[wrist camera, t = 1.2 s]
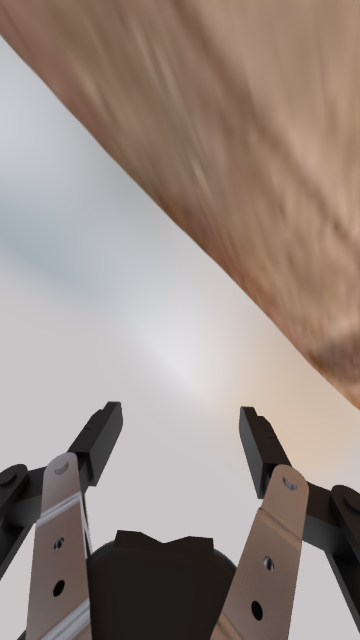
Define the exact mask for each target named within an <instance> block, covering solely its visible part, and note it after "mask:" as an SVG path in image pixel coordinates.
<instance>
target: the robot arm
mask: <svg viewBox="0 0 360 640" xmlns="http://www.w3.org/2000/svg"><path fill="white" fill-rule="evenodd" d="M122 425H123V416H122V408H121V403H120V402H110V401H109V402H108V403H107V404H106V406H105V407H104V409H103V410H101V409H100V410H98V411H97V412H96V413H95V414H93V415H92V416H91V418H90V419H89V421H88V422H87V424H86V425H85V426H84V428H83V430H82V431H81V432H80V434H79V435H78V437H77V438H76V439H75V441H74V442H73V444H72V445H71V446H70V448H69V450H68V451H67V452H66V453H64V454H61V455H59V456H57V457H56V458H55V459H53V460H52V461H51V462H50V463H49V464H48V466H46V467H42V468H38V469H35V470H31V471H28V470H27V467H26V465H24V464H17V465H14V466H11V467H9V468H7V469H5V470H4V471H2V472H1V473H0V580H1V578H2V577H3V575H4V573H5V572H6V570H7V568H8V566H9V565H10V563H11V561H12V560H13V558H14V556H15V555H16V553H17V551H18V550H19V548H20V546H21V544H22V543H23V541H24V539H25V538H26V536H27V534H28V533H29V531H30V529H31V527H32V526H33V524H34V523H36V529H35V539H34V550H33V560H32V572H31V582H30V593H29V604H28V605H29V606H28V616H27V626H26V630H25V631H24V632H23V633H22V634H21V636H20V637H19V638H18V639H17V640H288V635H289V628H290V622H291V615H292V608H293V601H294V594H295V588H296V581H297V575H298V568H299V561H300V555H301V547H302V540H303V541H305V542H307V543H309V544H311V545H313V546H315V547H318V548H319V549H321V550H323V551H324V552H325V554H326V556H327V559H328V561H329V563H330V566H331V568H332V570H333V573H334V575H335V576H336V579H337V582H338V584H339V587H340V589H341V591H342V594H343V596H344V598H345V600H346V603H347V605H348V607H349V610H350V612H351V614H352V617H353V619H354V621H355V624H356V626H357V628H358V631H359V633H360V494H359V493H358V492H356V491H355V490H353V489H351V488H349V487H347V486H344V485H335V486H333V488H332V490H331V491H330V490H327V489H324V488H322V487H319V486H316V485H314V484H311V483H309V482H308V481H306V480H305V478H304V477H303V476H302V475H301V474H300V473H299V472H298V471H297V470H296V469H294V468H293V467H292V465H291V464H290V461H289V460H288V458H287V456H286V454H285V452H284V450H283V448H282V446H281V444H280V442H279V440H278V439H277V436H276V434H275V433H274V430H273V428H272V426H271V424H270V423H269V422H268V421H267V420H266V419H265V418H264V417H263V416H257V413H256V411H255V409H254V408H253V407H243V406H242V407H241V408H240V419H239V433H240V438H241V441H242V445H243V448H244V452H245V455H246V459H247V462H248V466H249V469H250V472H251V476H252V479H253V483H254V486H255V490H256V493H257V497H258V499H263V503H262V505H261V507H260V508H259V509H258V511H257V513H256V516H255V519H254V522H253V525H252V527H251V530H250V533H249V536H248V539H247V541H246V544H245V547H244V550H243V553H242V556H241V558H240V561H239V564H238V567H236V566H235V565H234V564H233V563H232V561H231V560H229V559H228V558H227V557H226V556H225V555H223V554H222V553H221V552H219V551H218V550H216V549H214V545H213V538H204V537H192V536H188V537H184V538H181V539H178V540H174V541H171V542H167V543H161V542H159V541H157V540H155V539H153V538H151V537H149V536H147V535H145V534H143V533H141V532H135V531H123V530H118V531H117V534H116V538H115V540H114V541H111V542H109V543H107V544H105V545H103V546H102V547H100V548H99V549H97V550H96V551H95V552H92V546H91V540H90V533H89V525H88V516H87V508H86V500H85V492H86V490H87V488H88V486H96V485H97V483H98V481H99V479H100V476H101V474H102V472H103V469H104V467H105V465H106V463H107V461H108V459H109V456H110V454H111V452H112V450H113V448H114V445H115V443H116V441H117V439H118V437H119V434H120V432H121V430H122Z"/></svg>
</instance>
